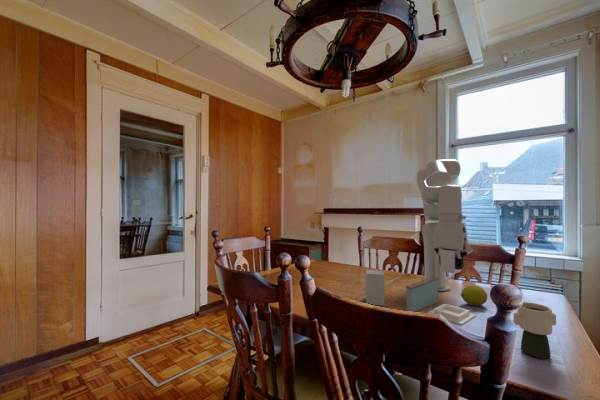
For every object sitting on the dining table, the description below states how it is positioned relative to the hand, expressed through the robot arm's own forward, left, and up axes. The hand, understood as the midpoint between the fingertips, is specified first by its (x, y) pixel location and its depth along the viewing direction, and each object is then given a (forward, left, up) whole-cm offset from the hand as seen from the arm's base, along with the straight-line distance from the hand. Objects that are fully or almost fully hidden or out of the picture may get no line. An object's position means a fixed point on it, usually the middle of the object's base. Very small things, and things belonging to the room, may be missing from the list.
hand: (450, 267), depth 101 cm
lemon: (-17, +1, -18) cm, 25 cm away
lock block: (0, 0, -2) cm, 2 cm away
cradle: (0, 0, -18) cm, 18 cm away
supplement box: (+11, -26, -18) cm, 33 cm away
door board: (0, -11, -18) cm, 21 cm away
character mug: (+9, +26, -18) cm, 33 cm away
